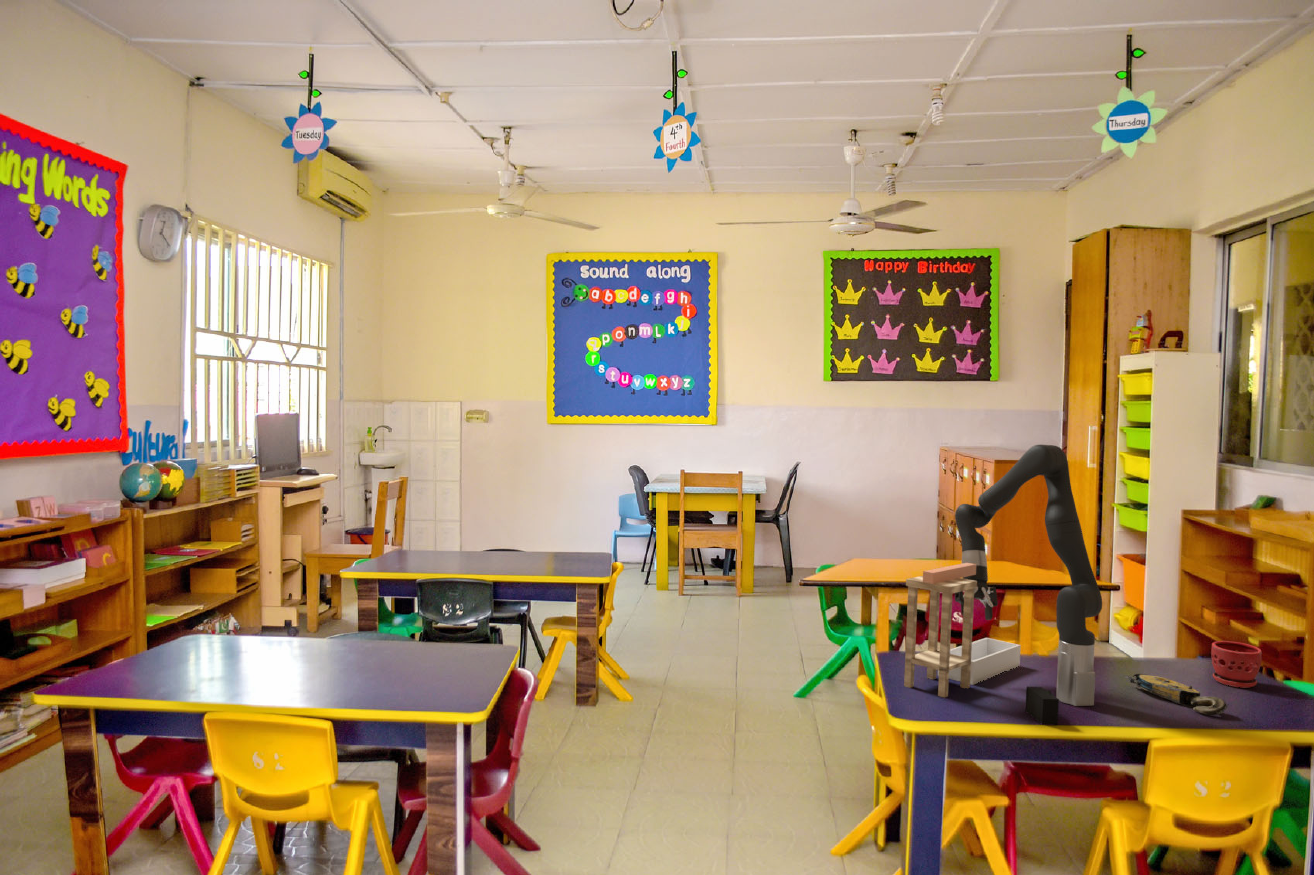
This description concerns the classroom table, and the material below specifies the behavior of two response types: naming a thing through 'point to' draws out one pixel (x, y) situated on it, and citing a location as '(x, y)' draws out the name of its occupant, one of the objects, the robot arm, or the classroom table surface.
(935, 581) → the brown rectangular block
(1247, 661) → the plant pot
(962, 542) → the robot arm
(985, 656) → the grey bin
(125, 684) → the classroom table surface
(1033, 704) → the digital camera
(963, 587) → the tall stand
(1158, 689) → the pulley block
